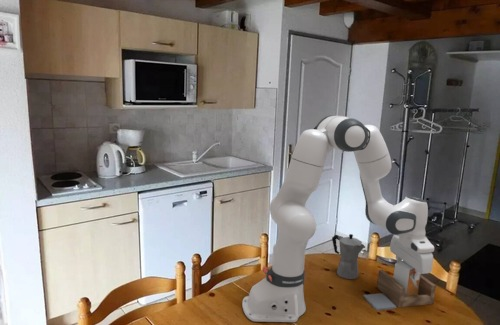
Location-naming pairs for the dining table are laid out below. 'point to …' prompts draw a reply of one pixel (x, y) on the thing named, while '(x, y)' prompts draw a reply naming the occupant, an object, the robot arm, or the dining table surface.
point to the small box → (406, 278)
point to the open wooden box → (397, 291)
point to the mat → (379, 301)
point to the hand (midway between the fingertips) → (407, 273)
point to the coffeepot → (348, 255)
